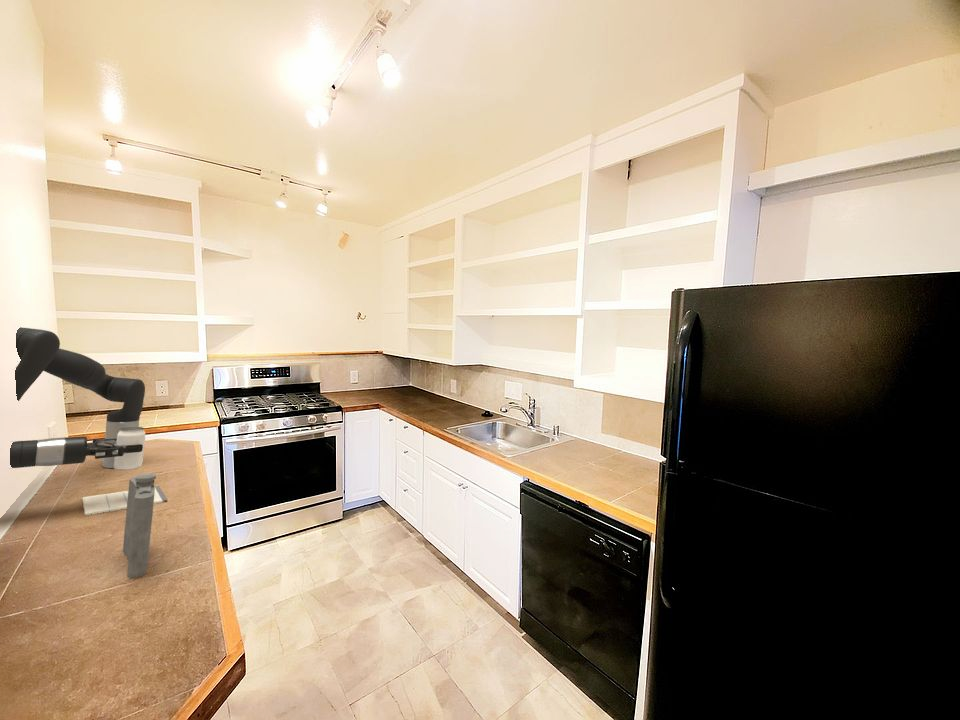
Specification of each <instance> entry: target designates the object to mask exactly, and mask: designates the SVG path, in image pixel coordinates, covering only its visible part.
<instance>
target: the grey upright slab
mask: <svg viewBox="0 0 960 720" xmlns="http://www.w3.org/2000/svg"><path fill="white" fill-rule="evenodd" d="M156 477H157V475H156V474H155V473H143V474H139V475H136V476H132V477H129V481H128V490H127V491H128V501H127V509H126V513H125V522H124V523H125V524H124V535H123V544H122V546H123V547H122V552H123V554H124V555H126V558H127V560H128V562H127V563H128V564H127V574H126V577H127V578H131V579H134V578H140V577H142V576H144V575H145V574H146V573H147V570H148V566H149V565H148V563H149V553H150V546H151V545H150V544H151V534H152V523H153V514H154V505H155V504H154V493H155V485H154V484H155V480H156Z"/></svg>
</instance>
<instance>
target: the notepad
mask: <svg viewBox="0 0 960 720" xmlns="http://www.w3.org/2000/svg"><path fill="white" fill-rule="evenodd" d="M154 487H155V493H154V504H153V505H156V504H161V503H168V498H167V497H166V495H165V493H164V491H163V490H162V488H161V486H160V485H154ZM127 501H128V490H125V491H124V490H123V491H117V492H116V491H115V492H111V493H105V494H104V493H103V494H96V495H88V496H83V497H82V505H83V506H82V507H83V511H84V512H83V513H84V516H85V517H86V515H87V516H91V514H92V515H98V514H104V513H108V512H109V511H110V512H115V511H116V512H117V511H120V510H121V509H122V510H127ZM103 512H104V513H103ZM110 512H109V513H110ZM97 513H98V514H97Z"/></svg>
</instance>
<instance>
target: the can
mask: <svg viewBox="0 0 960 720" xmlns="http://www.w3.org/2000/svg"><path fill="white" fill-rule="evenodd" d="M145 441H146V432H145V427H142V426H139V427H124V428H120V431H119V433H118V434H117V441H116V444H117V445H138V444H142V445H143V449H142V451H141V452H134V453H125V454H123V456H117V457H115V460H114V468H113V469H115V470H118V471H130V470H131V471H132V470H137V469H140V468H141V467H142V465H143V459H144V451H145V450H144V449H145ZM116 451H117V452H118V450H116Z"/></svg>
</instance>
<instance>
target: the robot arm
mask: <svg viewBox="0 0 960 720" xmlns="http://www.w3.org/2000/svg"><path fill="white" fill-rule="evenodd" d="M60 346H61V342H60V338H59V336H58V335H57V334H56V333H55V332H52V331H50V330H45V329H39V328H30V327H21V326H20V328H19V329H18V330H17V333H16V348H17V352H18V355H19V357H20V359H21V361H20V362H18V364H17V365H16V366H15V368H16V370H15V380H16V394H17V395H16V396H17V400H18V401H19V402H20V400H21V399H22V397H23V396H24V394H25V393H26V392H27V391H28V390H29V389H30V388H31V386H32V385H34V383H35V381H37V379H38V378H39V377H40V376H41V374H42V373H43V372H45V373H47V374H49V375H52V376H54V377H56V378H59V379H61V380H63V381H65V382H67V383H69V384H72V385H75V386H78V387H80V388H82V389H85V390H89V391H91V392H93V393H95V394H96V395H98V396H100V397H101V398H103V399H105V400H107V401H109V402H113V403H123V405H122V408H121V409H117V410H113V411H110V412H108V413H107V414H106V423H105V433H104V434H105V435H104V438H94V439H92V442H88V438H87V436H84V435H83V436H67V437H51V438H50V437H49V438H43V439H35V440H34V439H33V440H32V439H31V440H17V441H16V440H15V441H12V442H13V443H12V445H11V448H10V465H11V467H12V468H11V469H20V468H31V467H54V466H62V465H64V466H65V465H74V464H83V463H84V462H85V461H86V459H87V456H89V457H90V456H92V457H93V456H94V459H96V460H99V459H102V467H103V468H106V469H115V468H114V460H115V457H117V456H123V454H125V453H134V452H141V451H142V449H143V445H142V444H138V445H117V444H116V441H117V434H118V433H119V431H120V428H124V427H140V417H141V414H142V412H143V406H144V399H145V394H146V385H145V383H144V380H141V379H139V378H127V377H117V376H113V375H109V374H107V373H106V369H105V367H104V366H103V364H101V363H100V362H98V361H97V360H94V359H92V358H91V357H89V356H87V355H84V354H82V353H78V352H74V351H71V350H67V349H64V348H61V347H60ZM116 450H118V452H117V451H116Z"/></svg>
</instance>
